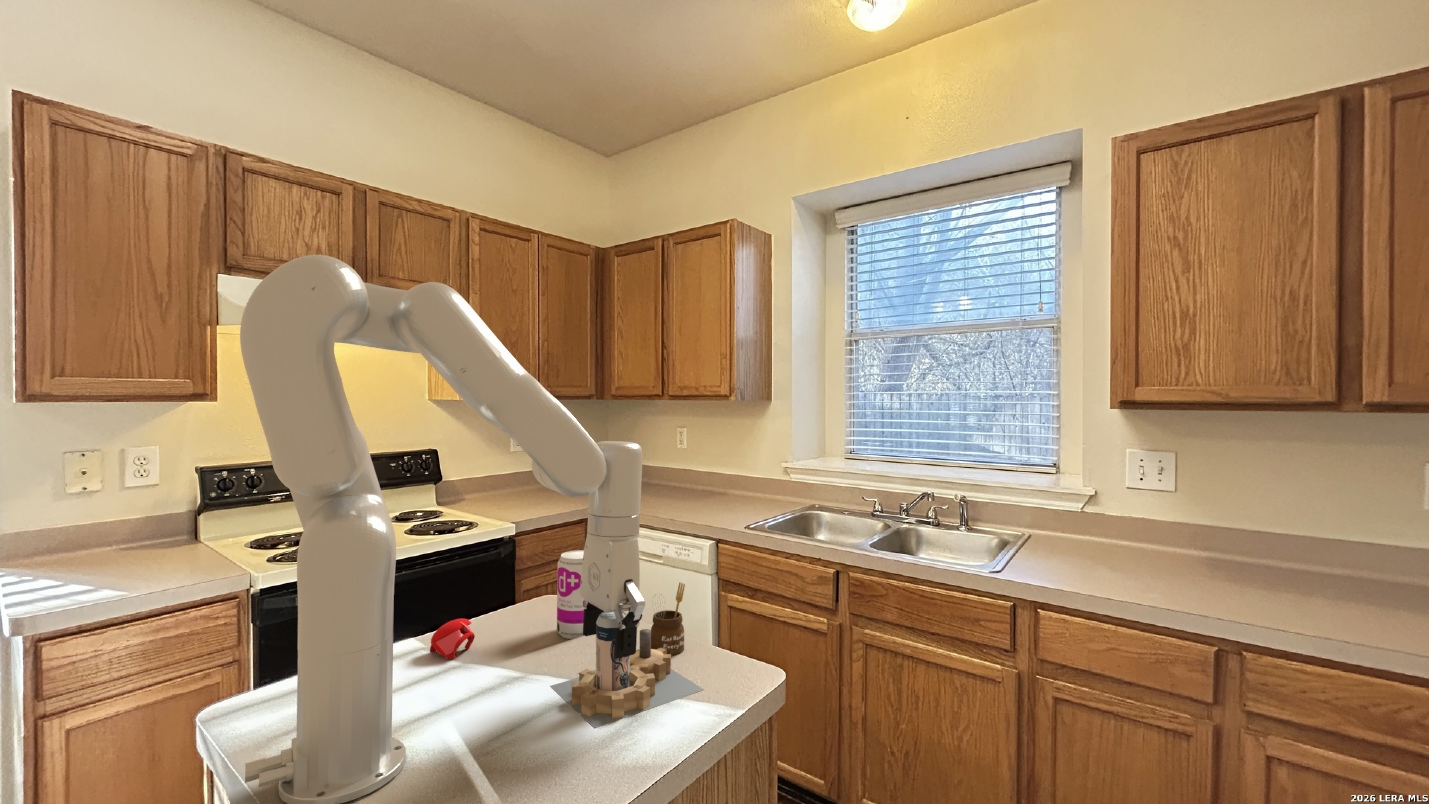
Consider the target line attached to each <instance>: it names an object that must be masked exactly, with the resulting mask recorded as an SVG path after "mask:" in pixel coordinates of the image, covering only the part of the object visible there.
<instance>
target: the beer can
mask: <svg viewBox="0 0 1429 804" xmlns="http://www.w3.org/2000/svg"><path fill="white" fill-rule="evenodd" d="M622 614H623V617H624V618H625V616H626V615H627V613H626V611H623V612H622ZM615 628H618V624H617V621H616V617H615V614H614V610H613V611H612V612H610V613H607V612H605V611H604V612H602V613H601V614H600V615H599V617H598V619H597V621H596V634H595V670H596V689H597V690H606V691H619V690H622V689H625V688H628V687H629V656H626V657H621V658H616V657H615V656H614V643H615Z"/></svg>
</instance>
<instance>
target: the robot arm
mask: <svg viewBox="0 0 1429 804" xmlns="http://www.w3.org/2000/svg"><path fill="white" fill-rule="evenodd" d="M239 328H240V329H239V339H240V340H239V344H240V351H241V357H242V361H243V365H244V368H245V372H246V376H247V379H248V383H249V386H250V388H251V389H250V390H251V392H252V396H253V401H254V404H255V408H256V411H257V414H258V417H259V421H260V424H261V426H262V429H263V433H264V437H265V440H266V442H267V447H268V450H269V454H270V459H271V464H272V467H273V470H274V474H276V476H277V478H278V479H279V481H280V482H281V484H283V485H284V486H285V487H286V488H288V489H289V491H290V494H291V497H292V500H293V503H294V506H295V509H296V512H297V515H298V518H299V522H300V525H301V526H302V530H303V531H302V534H301V536H300V539H299V544H298V549H297V555H296V585H297V588H296V589H297V679H296V680H297V682H296V683H297V690H296V691H297V694H296V737H293V738H292V739H291V747H289V748H287V749H283V750H280V754H277V755H274V756H269V757H262V758H259V759H256V760H252V761H249V762H246V763H245V766H244V767H245V768H244V769H245V771H244V774H245V776H244V783H249V782H253V781H256V780H258V788H263V787H265V786H269V785H273V784H274V783H276V782H278V795H279V796H278V797H279V798H280V800H281V801H282V802H284V803H286V804H345V803H348V802H350V801H353V800H356V799H360V798H361V797H362V798H363V797H364V796H366V795H368V794H371V793H372V792H375V791H376V790H378V789H380V788H381V787H383V786H384V785H386V784H387V783H389V782H390V781H392V779H394V778H395V777H396V776H397V775H398V774H399V773H400V771H401V770H402V769H403V767H404V765H405V764H406V758H407V752H406V751H407V750H406V746H405V744H404V743H403V742H402V741H400V740H399V739H397V738H395V737H392V736H393V735H392V733H393V727H392V726H393V676H394V675H393V671H394V670H393V669H394V668H393V667H394V664H393V663H394V660H393V659H394V602H395V601H394V595H395V579H396V578H395V577H396V565H397V564H396V563H397V541H396V534H395V533H396V532H395V529H394V528H395V527H394V526H393V521H392V520H391V516H390V514H389V511H388V508H387V505H386V503H385V498H384V496H383V493H382V490H381V487H380V483H379V480H378V476H377V473H376V470H375V466H374V463H373V461H372V457H371V453H370V451H369V448H368V444H367V441H366V438H365V435H364V433H363V432H362V430H361V429H359V427H358V426H357V423H356V421H355V419H354V416H353V413H352V410H351V408H350V404H349V401H348V398H347V396H346V393H345V389H344V385H343V380H342V377H341V374H340V370H339V367H338V363H337V359H336V355H335V343H342V344H349V345H355V346H360V347H369V348H376V349H381V350H386V351H387V350H389V351H393V352H394V351H396V352H401V353H402V352H404V353H413V354H421V356H422V358H424V359H425V360H426V361H427V362H428V364H429V365H431V366H432V367H433V368H434V370H435V371H436V372H437V373H438V374H439V375H440V377H442V379H443V380H444V381H445V382H446V383H447V384H448V385H449V386H450V388H452V389H453V391H454V392H455V393H456V394H457V395H458V396H459V397H460V398H461V400H463V402H464V403H465V404H466V405H467V407H469V408H470V409H471V410H472V411H473V412H474V413H476V414H477V415H478V416H479V417H480V418H481V419H483V420H485V421H486V422H488V423H489V424H491V425H492V426H494V427H496V428H497V429H498V430H500V431H502V432H503V433H504V434H505V435H507V436H508V437H509V439H511V440H512V441H513V442H515V443H516V444H517V446H519V447H520V448H521V450H523V452H525V453H526V454H527V455H528V456H529V458H531V471H532V474H533V476H534V478H535V479H536V481H537V482H538V483H540V484H541V485H542V486H544V487H545V488H547V489H549V490H551V491H554V492H557V493H559V494H561V495H563V496H566V497H569V498H584V497H588V509H587V513H588V514H587V528H586V529H587V531H586V532H587V533H586V539H585V543H584V548H583V550H584V554H583V562H582V572H581V584H580V594H581V596H582V598H583V599H584V600H583V607H584V608H586V609H584V618H583V635H584V637H589V636H594V635H595V636H596V621H597V619H598V617H599V615H600V614H601V613H602V612H607V613H610V612H612V611H613V610H614V614H615V617H616V621H617V624H618V628H615V643H614V656H615V657H616V658H621V657H626V656H630V655H634V654H635V653H636V650H637V642H638V641H637V638H638V627H639V626H640V621H641V620H642V618H643V612H644V609H645V607H646V600H645V599H644V598H643V596H642V594H641V593H640V592H641V591H640V583H641V577H640V574H641V573H640V568H641V567H640V550H639V549H640V547H639V537H640V522H641V503H642V502H641V499H642V498H641V496H642V480H643V479H642V477H643V476H642V475H643V459H644V458H643V448H642V446H641V445H640V444H638V443H636V442H632V441H623V440H622V441H619V440H617V441H615V440H611V441H610V440H603V441H598V442H595V441H594V439H593V438H592V437H591V436H590V435H589V433H588V431H586V430H585V428H584V427H583V426H582V425H581V424H580V423H579V421H578V420H577V419H576V418H575V417H574V415H573V414H572V413H571V412H570V411H569V410H568V409H567V408H566V407H565V406H564V405H563V404H562V403H561V402H560V401H559V400H558V399H557V398H556V397H555V396H553V394H551V392H550V391H548V390H547V389H546V388H545V387H544V386H543V385H542V384H541V383H540V382H539V381H538V380H537V379H536V378H535V377H534V376H533V375H531V374H530V373H529V372H528V371H527V370H526V369H525V368H524V366H522V365H521V363H519V361H518V360H517V359H516V358H515V357H514V355H513V354H512V353H511V352H510V351H509V350H508V349H507V347H505V346H504V344H503V343H502V341H500V339H499V338H498V337H497V336H496V334H495V333H494V332H493V331H492V330H491V328H489V326H488V325H487V324H486V323H485V322H484V321H483V319H482V318H481V317H480V316H479V315H478V313H477V312H476V311H475V310H474V308H473V307H472V306H471V305H470V304H469V303H468V302H467V300H465V298H464V297H463V296H462V295H461V294H460V293H459V292H457V290H455V289H454V288H453V287H451V286H449V285H448V284H445V283H442V282H439V281H438V282H437V281H428V282H422V283H419V284H416V285H414V286H412V287H411V288H409V289H408V290H407V289H406V290H405V289H402V288H401V289H399V288H395V287H389V286H384V285H378V284H374V283H369V282H364V281H363V279H362V278H361V275H359V274H358V272H357V271H356V270H355V269H354V268H353V267H352V266H350V265H349V264H348V263H346V262H344V261H342V260H340V259H339V258H336V257H333V256H329V255H324V254H308V255H303V256H299V257H297V258H294V259H291V260H289V261H287V262H285V263H283V264H281V265H280V266H278V267H277V268H275V269H274V270H273V271H272V272H270V273H269V274H268V275H266V277H264V278H263V279H262V280H261V282H259V283H258V285H257V286H256V287H255V289H253V292H252V293H251V294H250V297H249V299H248V301H247V302H246V304H245V307H244V310H243V313H242V317H241V322H240V327H239ZM623 611H624V612H627V613H626V616H625V618H624V617H623V614H622V612H623Z"/></svg>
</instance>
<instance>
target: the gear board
mask: <svg viewBox="0 0 1429 804" xmlns="http://www.w3.org/2000/svg"><path fill="white" fill-rule="evenodd" d="M578 681H579V677H576V678H573V679H569V680H566V681H565V680H564V681H562V682H559V683H554V684H552V685H549V687H550V688H551V689H552V690H553V691H554V692H556V694H558V696H560V697H561V698H562V699H563V700H564V701H565V702H566V703H567V704H568V705H569V706H570V707H571V708H573V710H575V711H576V712H577V714H579V715H580V716H581V717H582V718H583V719H584V720H585V721H586V722H587V723H589V724H590V726H592V728H594V729H597V728H600V727H603V726H605V725H609V724H611V723H614V722H617V721H619V720H623V719H625V718H629V717H631V716H635V715H637V714H640V713H642V712H645V711H648V710H651V709H654V708H657V707H660V706H662V705H666V704H669V703H671V702H674V701H677V700H680V699H683V698H685V697H688V696H691V695H694V694H697V693H699V692H703V691H705V689H704V688H703V687H701V686H699V685H698V684H696V683H695V682H693V681H691V679H689V678H687V677H685V676H683V675H682V674H680V673H678V672H677V671H675V670H674V669H672V668H671V674H666V679H663V680H661V681H657V680H655V695H651V696H650V706H648V707H647V708H646V709H644V710H641V709H638V708H635V709H632V710H629V711H626V712H624V717H620V718H612V715H611V714H603V713H595V714H594V715H592V716H591V717H589V716H586V715H583V714H581V704H576V705H572V682H578Z"/></svg>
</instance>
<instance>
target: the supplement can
mask: <svg viewBox="0 0 1429 804" xmlns="http://www.w3.org/2000/svg"><path fill="white" fill-rule="evenodd" d="M583 554H584V549H583V550H580V549H579V550H570V551H565V552H562V553H561V554H560V557H559V559H558V562H557V582H556V583H557V584H556V585H557V586H556V587H557V590H556V591H557V592H556V596H557V597H556V601H557V602H556V632H557V633H558V634H559V636H561V637H562V638H564V639H568V640H574V639H578V638H581V637H583V636H584V635H583V618H584V609H586V608H584V607H583V600H584V599H583V598H582V596H581V594H580V584H581V572H582V562H583ZM584 637H585V636H584Z"/></svg>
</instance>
